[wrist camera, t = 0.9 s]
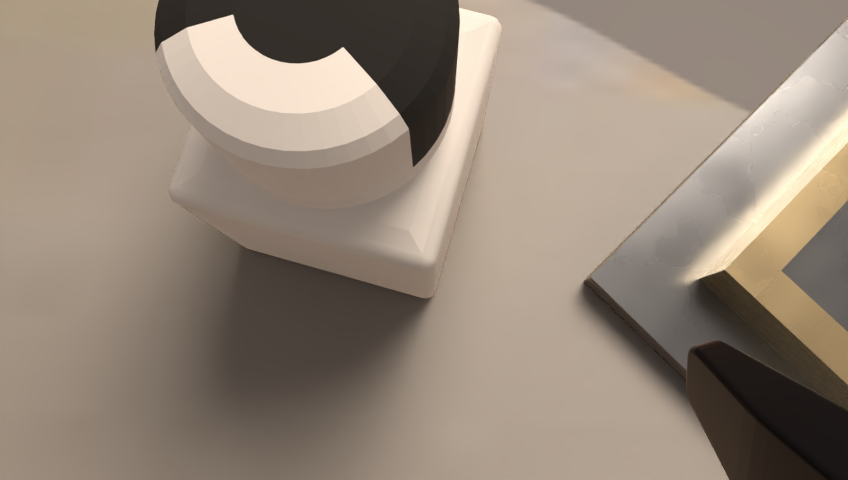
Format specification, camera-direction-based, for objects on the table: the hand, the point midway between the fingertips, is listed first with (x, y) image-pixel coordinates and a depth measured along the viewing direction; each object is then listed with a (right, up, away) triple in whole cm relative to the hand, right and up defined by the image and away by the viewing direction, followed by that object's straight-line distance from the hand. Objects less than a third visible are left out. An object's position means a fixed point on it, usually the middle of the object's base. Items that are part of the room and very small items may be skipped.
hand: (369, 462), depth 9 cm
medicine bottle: (-1, +5, +16) cm, 16 cm away
